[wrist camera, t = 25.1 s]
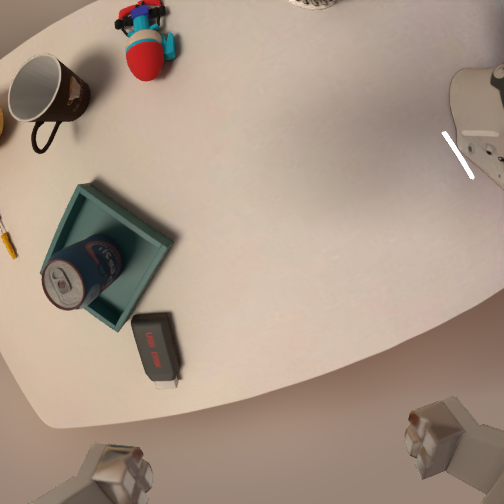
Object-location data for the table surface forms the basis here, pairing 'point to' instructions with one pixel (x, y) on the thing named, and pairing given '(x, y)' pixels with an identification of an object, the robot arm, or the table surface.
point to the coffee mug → (46, 95)
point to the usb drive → (157, 348)
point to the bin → (129, 240)
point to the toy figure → (145, 40)
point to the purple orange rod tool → (7, 244)
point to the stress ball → (1, 121)
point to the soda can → (82, 272)
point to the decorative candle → (312, 4)
